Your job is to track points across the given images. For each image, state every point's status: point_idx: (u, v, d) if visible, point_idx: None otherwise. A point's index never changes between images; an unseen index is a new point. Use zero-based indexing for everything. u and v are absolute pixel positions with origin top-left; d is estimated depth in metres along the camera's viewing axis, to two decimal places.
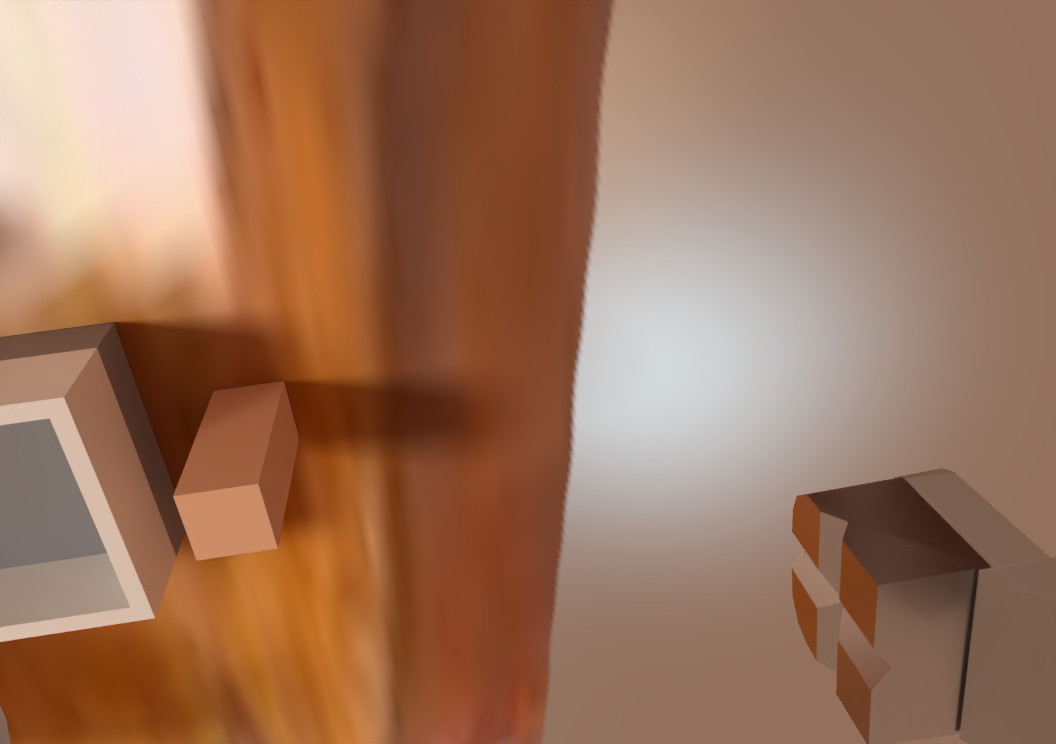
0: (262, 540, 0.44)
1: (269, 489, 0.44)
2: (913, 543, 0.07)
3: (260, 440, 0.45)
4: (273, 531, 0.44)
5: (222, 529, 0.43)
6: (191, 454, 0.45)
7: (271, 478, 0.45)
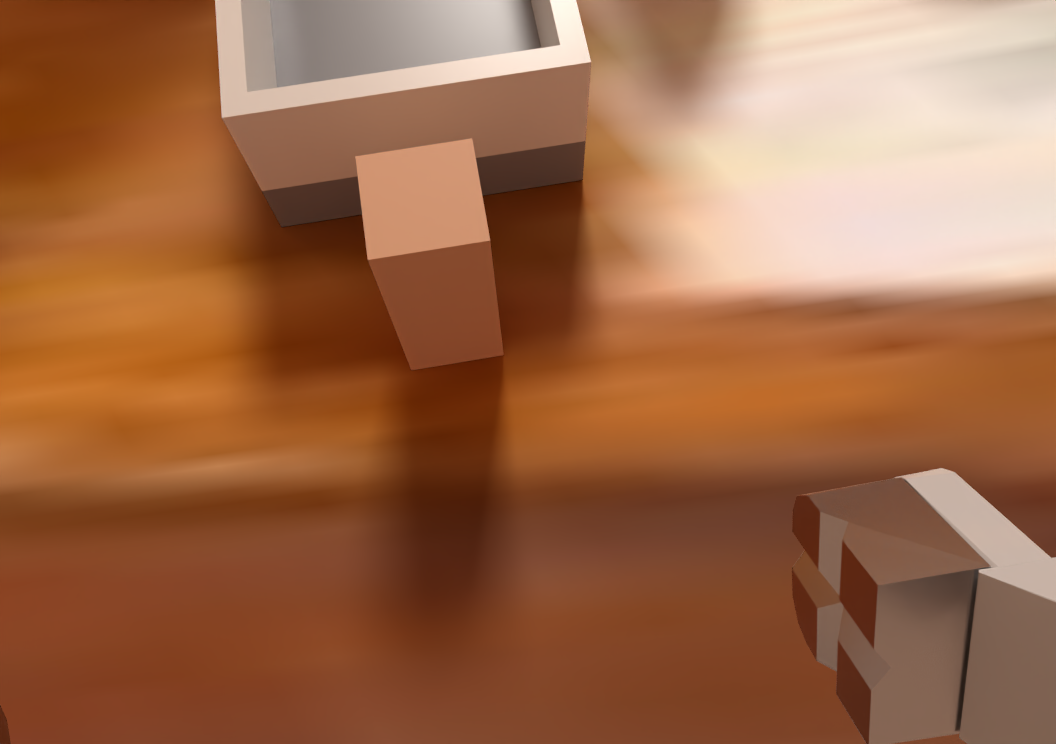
0: (385, 240, 0.29)
1: (450, 268, 0.30)
2: (912, 543, 0.07)
3: None
4: (398, 257, 0.29)
5: (409, 191, 0.29)
6: None
7: (455, 279, 0.31)
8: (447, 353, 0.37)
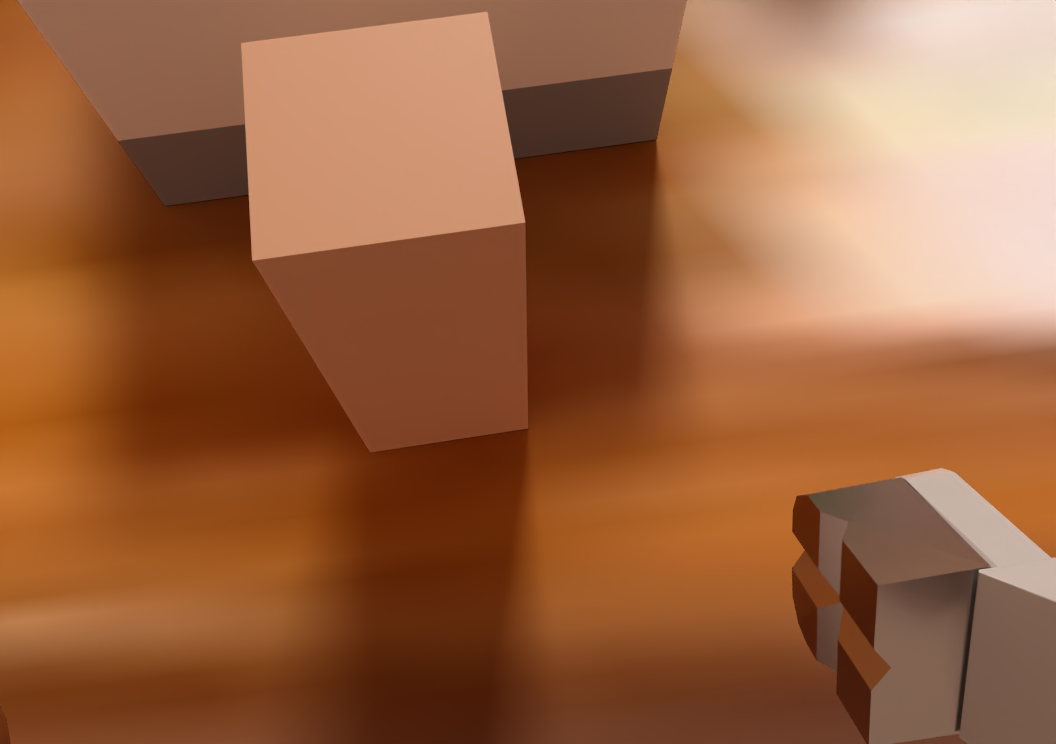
0: (293, 218, 0.13)
1: (437, 282, 0.14)
2: (913, 542, 0.07)
3: None
4: (321, 255, 0.13)
5: (352, 117, 0.14)
6: None
7: (446, 304, 0.15)
8: (432, 427, 0.21)
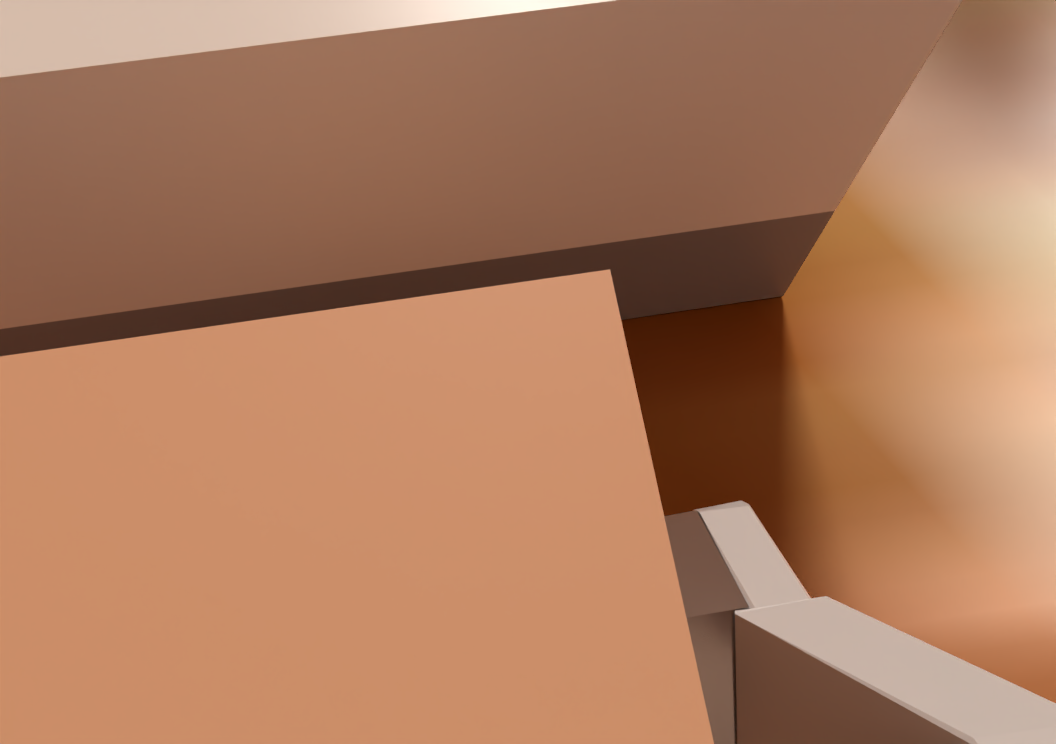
0: None
1: None
2: (683, 581, 0.07)
3: None
4: None
5: (251, 608, 0.05)
6: None
7: None
8: None
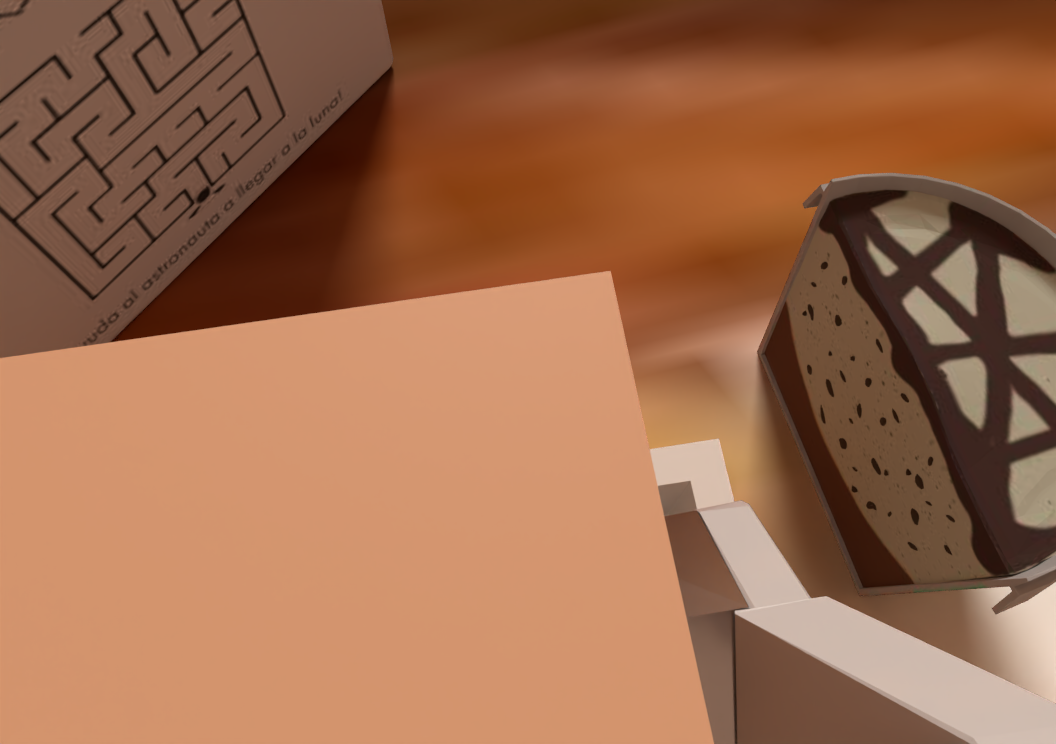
0: None
1: None
2: (682, 580, 0.07)
3: None
4: None
5: (249, 608, 0.05)
6: None
7: None
8: None
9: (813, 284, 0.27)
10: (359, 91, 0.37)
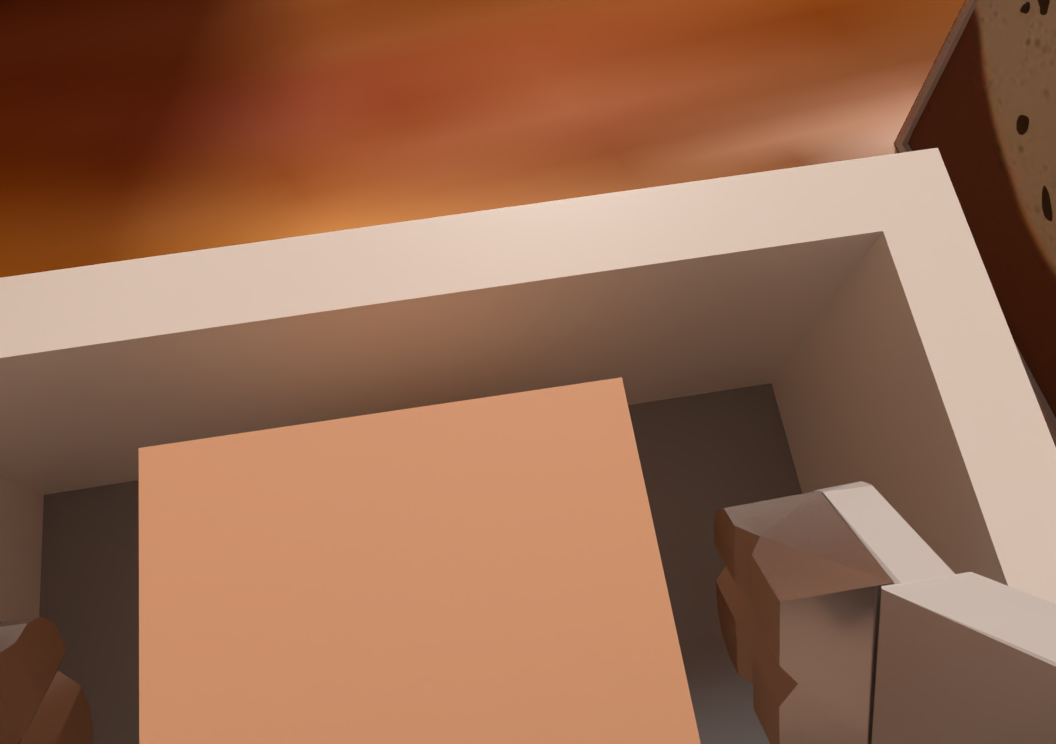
0: None
1: None
2: (821, 558, 0.07)
3: None
4: None
5: (363, 633, 0.07)
6: None
7: None
8: None
9: None
10: None
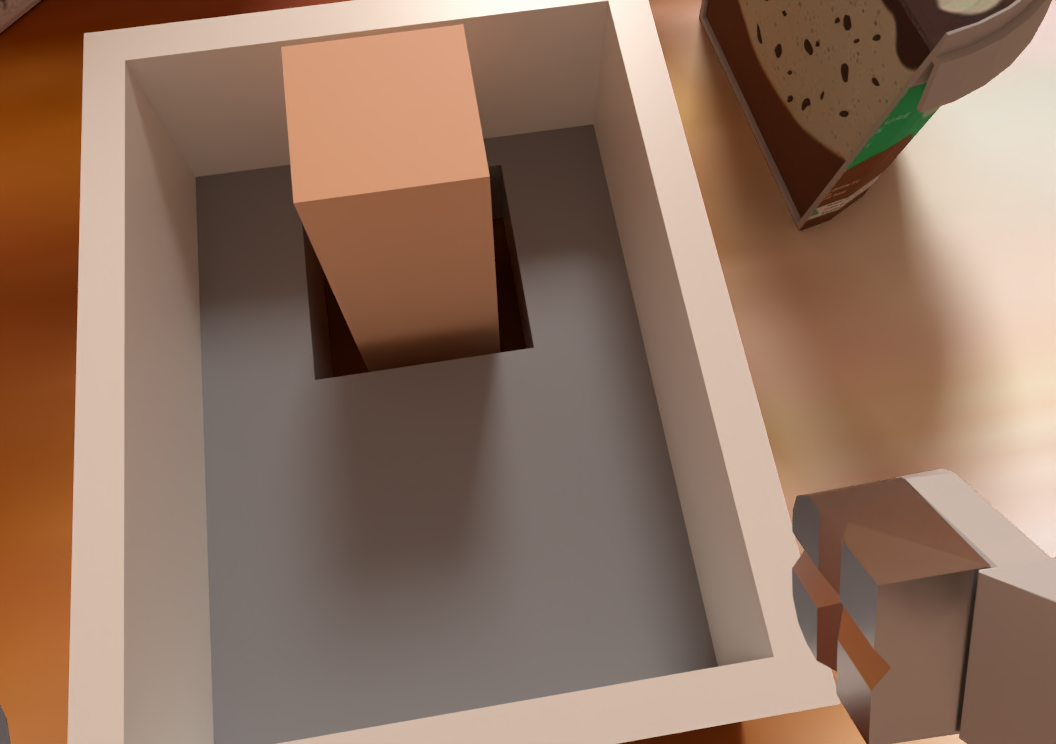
0: (322, 173, 0.18)
1: (426, 223, 0.19)
2: (911, 543, 0.07)
3: None
4: (343, 199, 0.18)
5: (364, 101, 0.19)
6: None
7: (433, 242, 0.20)
8: (422, 356, 0.26)
9: None
10: None
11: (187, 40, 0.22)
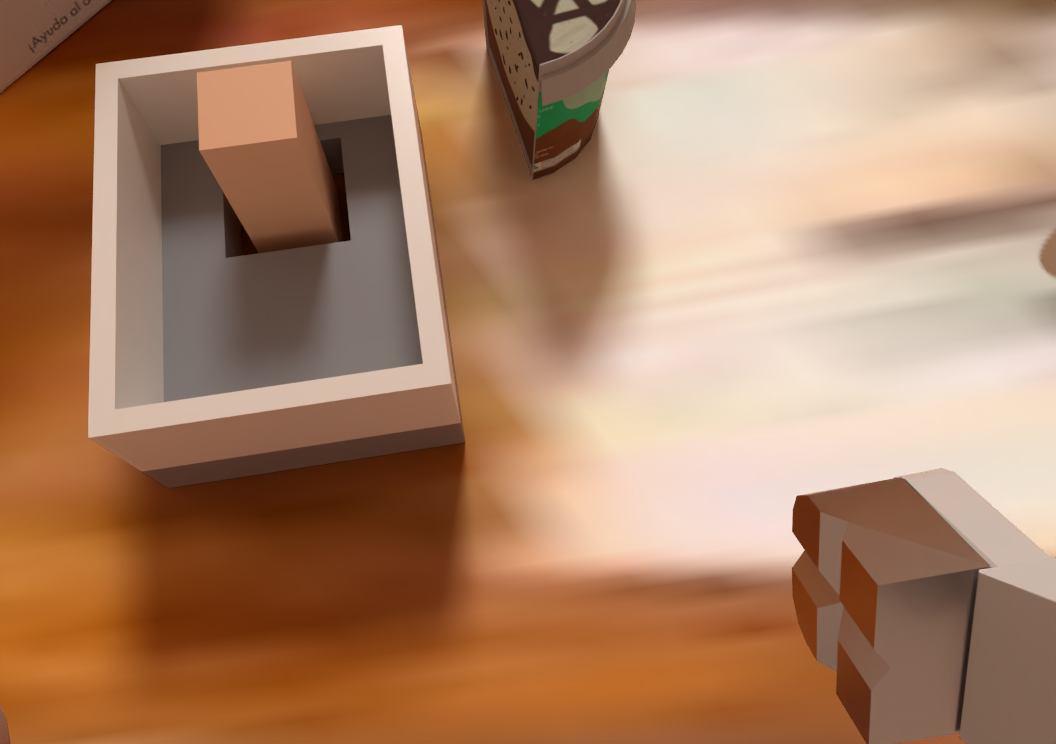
0: (214, 136, 0.37)
1: (271, 163, 0.38)
2: (913, 543, 0.07)
3: (317, 181, 0.40)
4: (224, 149, 0.36)
5: (237, 100, 0.37)
6: (309, 114, 0.41)
7: (278, 174, 0.39)
8: None
9: None
10: None
11: (151, 67, 0.40)
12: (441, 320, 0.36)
